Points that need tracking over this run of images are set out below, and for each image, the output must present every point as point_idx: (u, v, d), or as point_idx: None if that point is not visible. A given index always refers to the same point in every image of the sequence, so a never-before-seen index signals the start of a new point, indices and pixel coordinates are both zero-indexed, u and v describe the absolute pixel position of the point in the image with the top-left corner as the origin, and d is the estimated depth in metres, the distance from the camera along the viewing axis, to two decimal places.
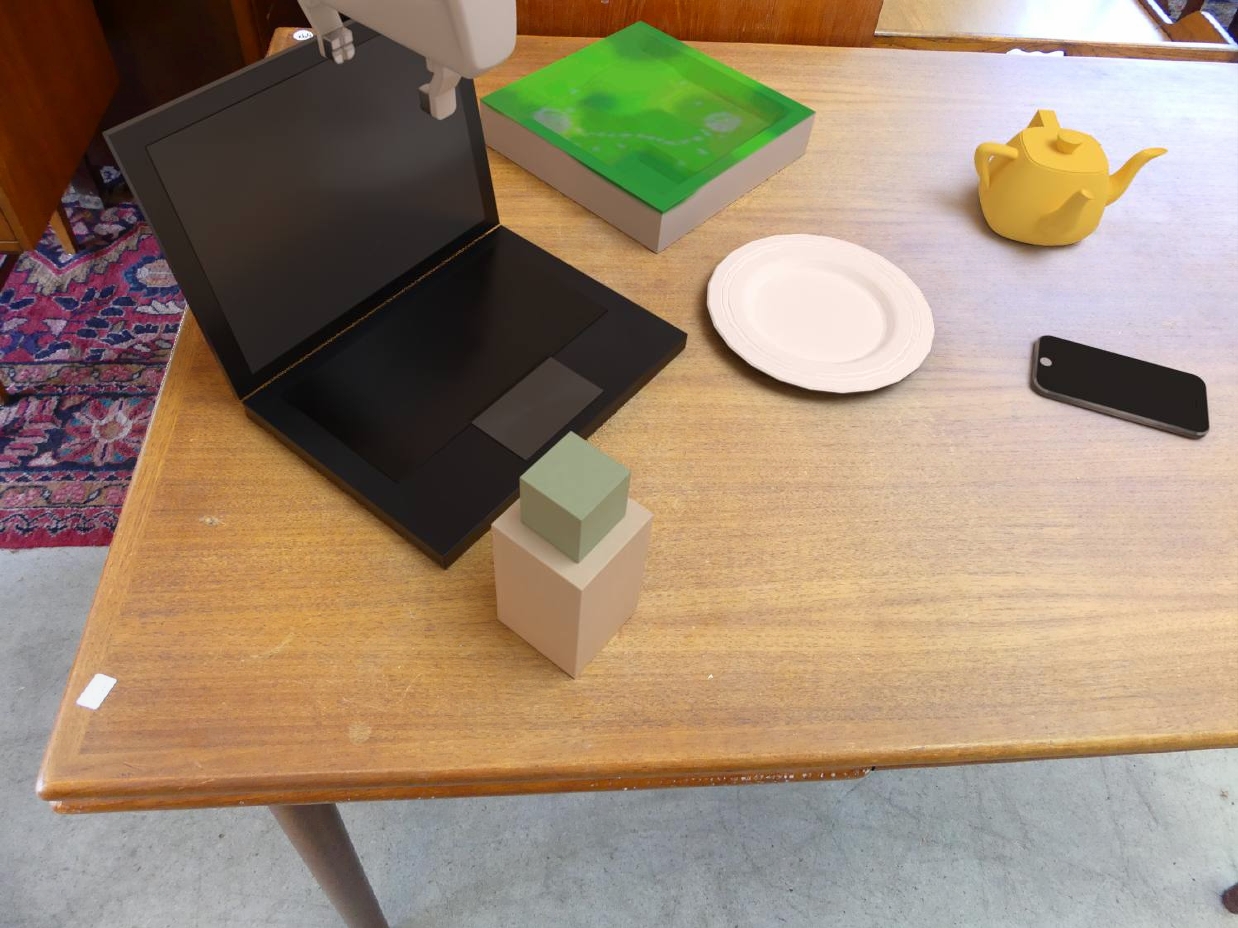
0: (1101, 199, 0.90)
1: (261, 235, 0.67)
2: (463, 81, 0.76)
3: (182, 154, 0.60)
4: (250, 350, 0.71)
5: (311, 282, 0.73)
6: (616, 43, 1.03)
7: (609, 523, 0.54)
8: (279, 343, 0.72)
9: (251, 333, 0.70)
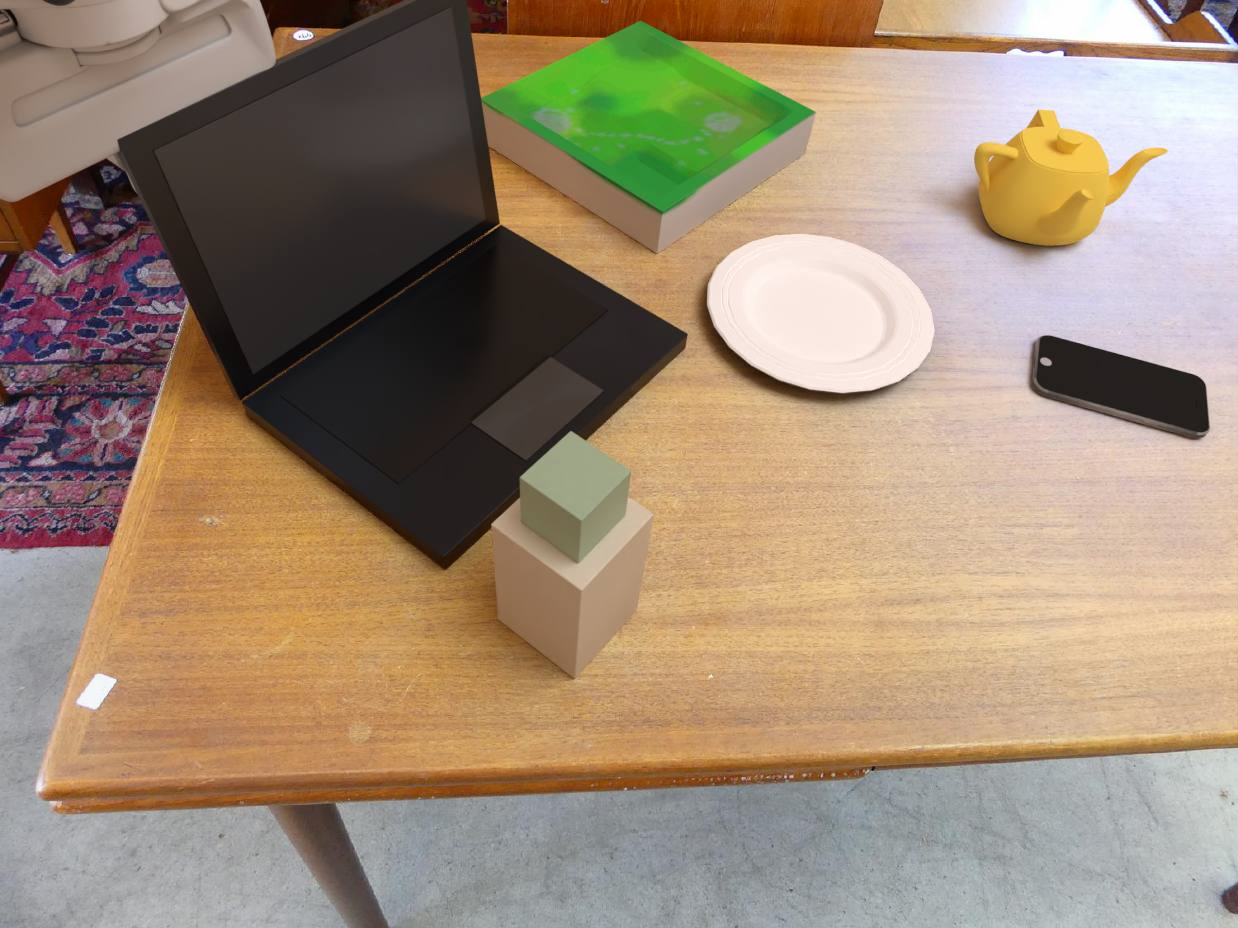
0: (1101, 199, 0.90)
1: (265, 237, 0.67)
2: (468, 83, 0.76)
3: (189, 158, 0.60)
4: (251, 351, 0.70)
5: (313, 283, 0.72)
6: (616, 43, 1.03)
7: (609, 523, 0.54)
8: (280, 344, 0.72)
9: (252, 334, 0.70)
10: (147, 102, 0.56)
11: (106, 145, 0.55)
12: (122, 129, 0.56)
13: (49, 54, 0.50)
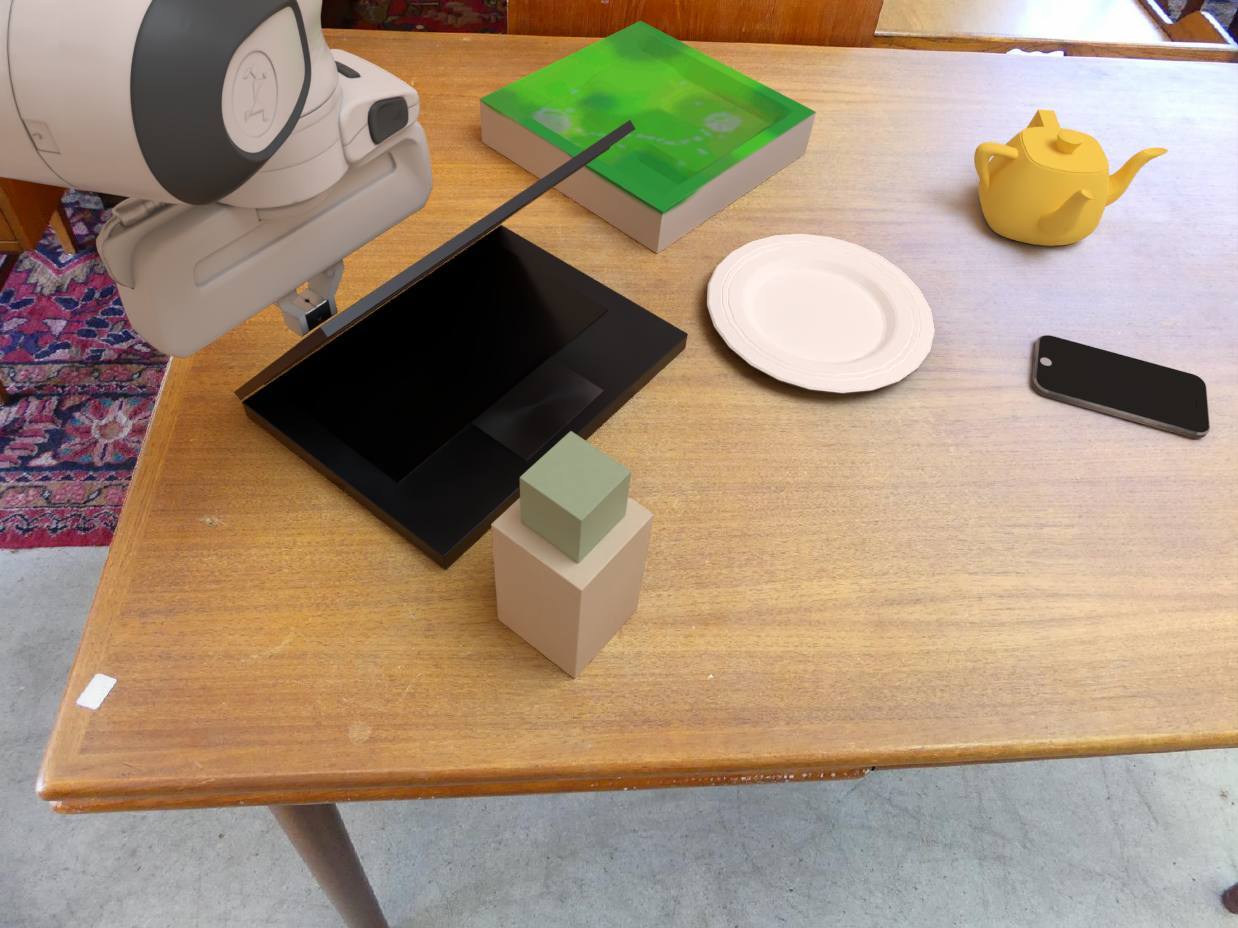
0: (1101, 199, 0.90)
1: None
2: None
3: None
4: (277, 376, 0.70)
5: None
6: (616, 43, 1.03)
7: (609, 523, 0.54)
8: None
9: None
10: (315, 245, 0.54)
11: (274, 292, 0.53)
12: (290, 275, 0.53)
13: (233, 213, 0.48)
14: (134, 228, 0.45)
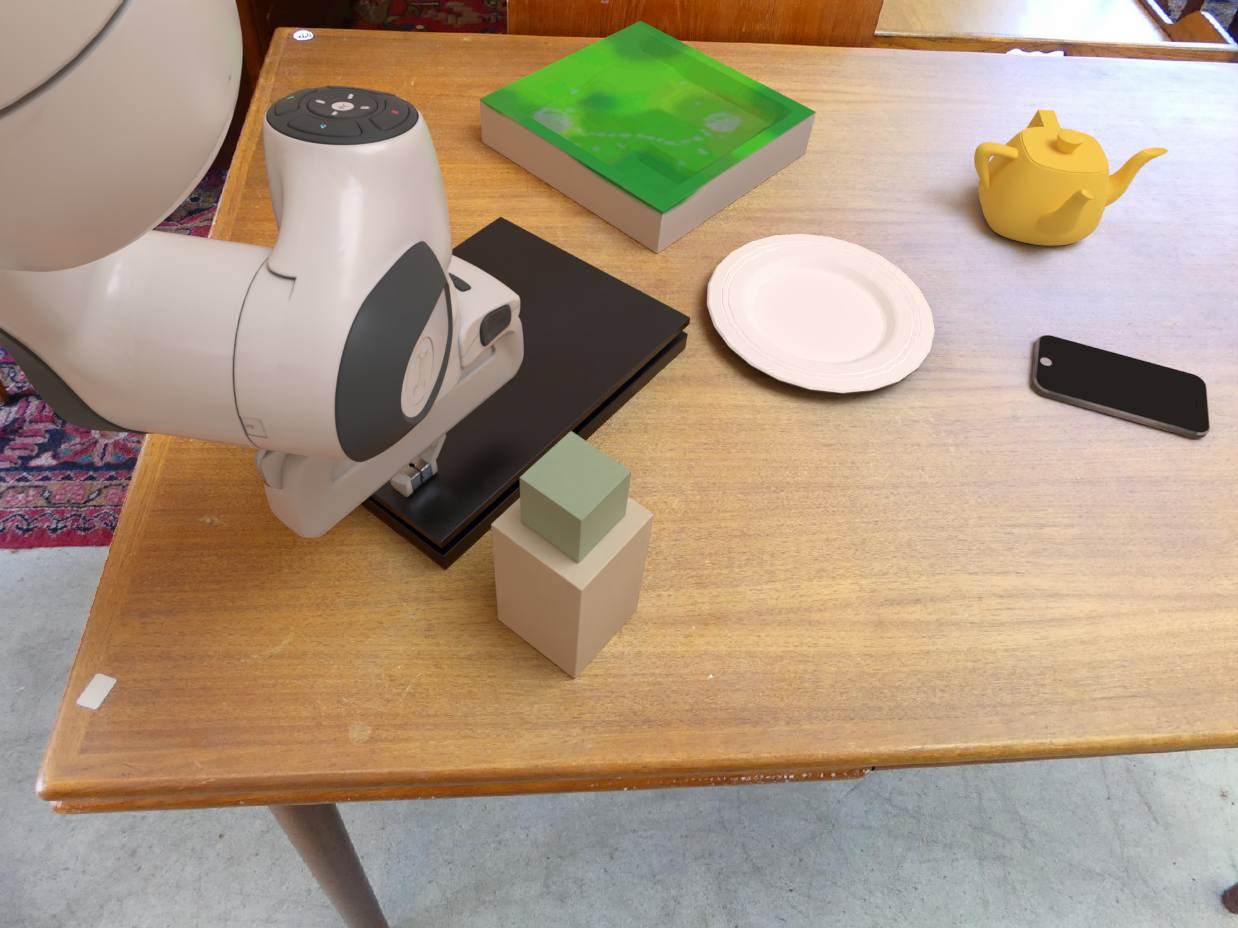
0: (1101, 199, 0.90)
1: None
2: None
3: None
4: None
5: None
6: (616, 43, 1.03)
7: (609, 523, 0.54)
8: None
9: None
10: (426, 428, 0.60)
11: (391, 471, 0.60)
12: (405, 455, 0.60)
13: None
14: None
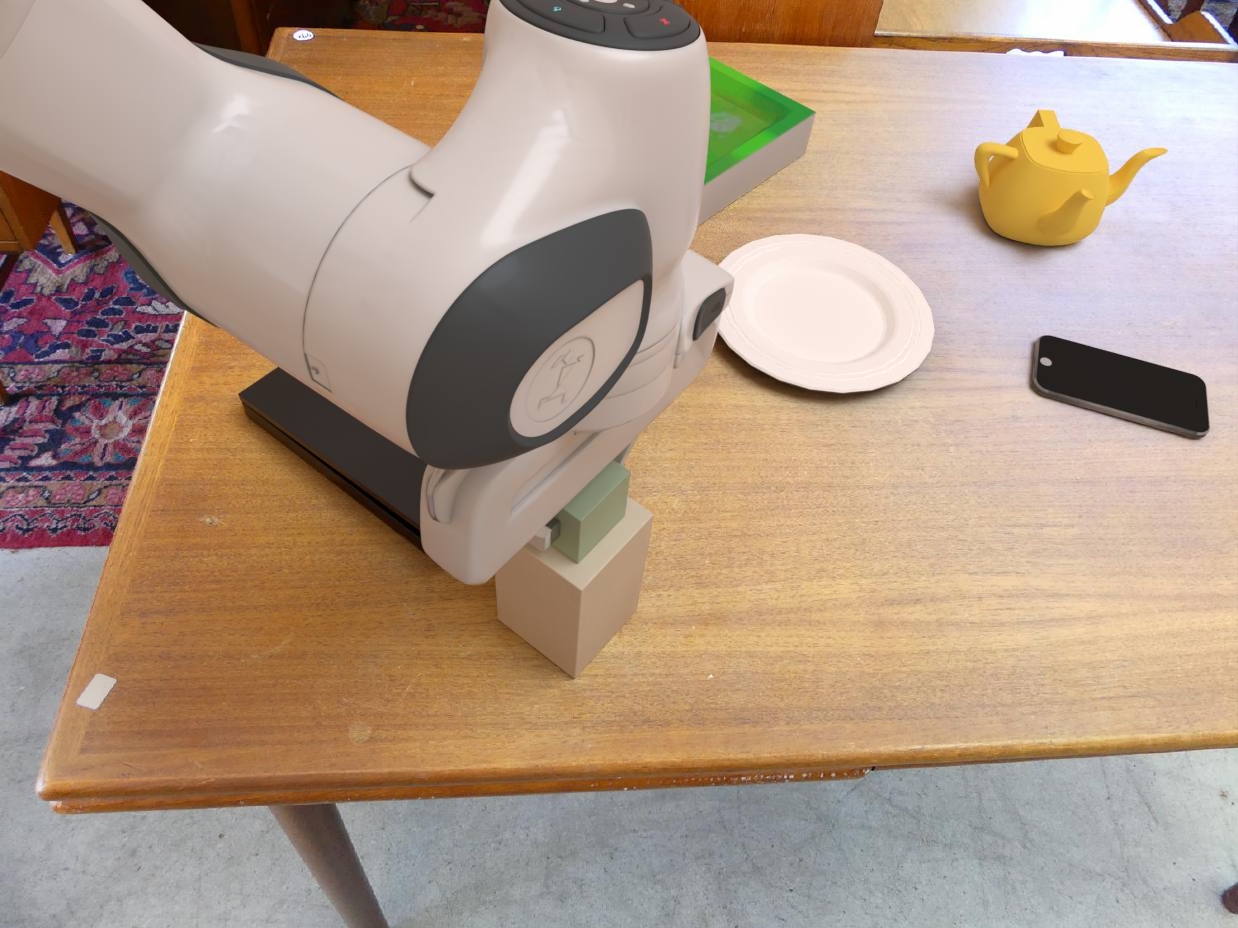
0: (1101, 199, 0.90)
1: None
2: None
3: None
4: None
5: None
6: None
7: (609, 524, 0.54)
8: None
9: None
10: (609, 443, 0.48)
11: (566, 498, 0.47)
12: (583, 478, 0.48)
13: None
14: None
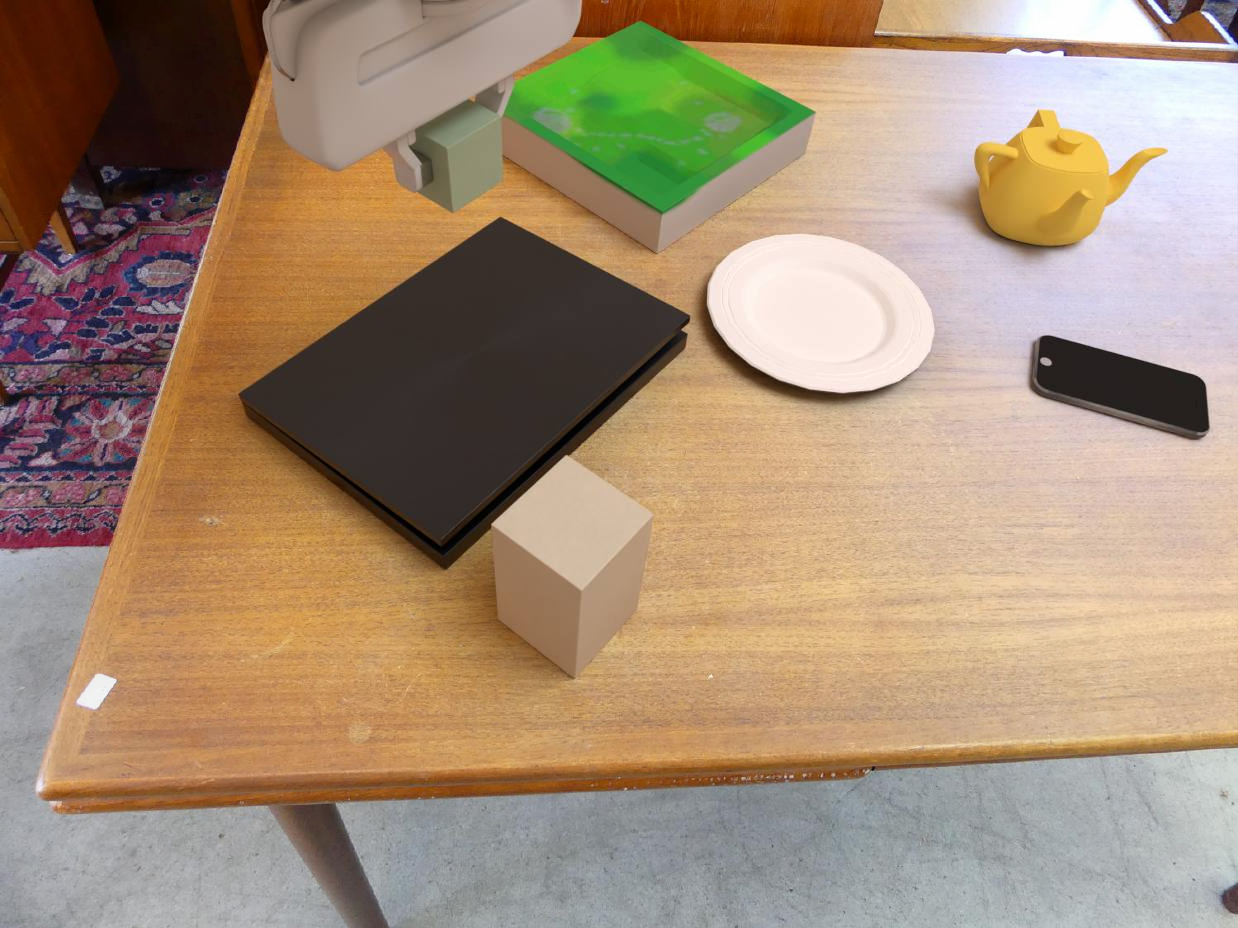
0: (1101, 199, 0.90)
1: None
2: None
3: None
4: None
5: None
6: (616, 43, 1.03)
7: (484, 179, 0.56)
8: None
9: None
10: (469, 62, 0.50)
11: (427, 110, 0.49)
12: (443, 92, 0.50)
13: (400, 2, 0.44)
14: (302, 4, 0.41)
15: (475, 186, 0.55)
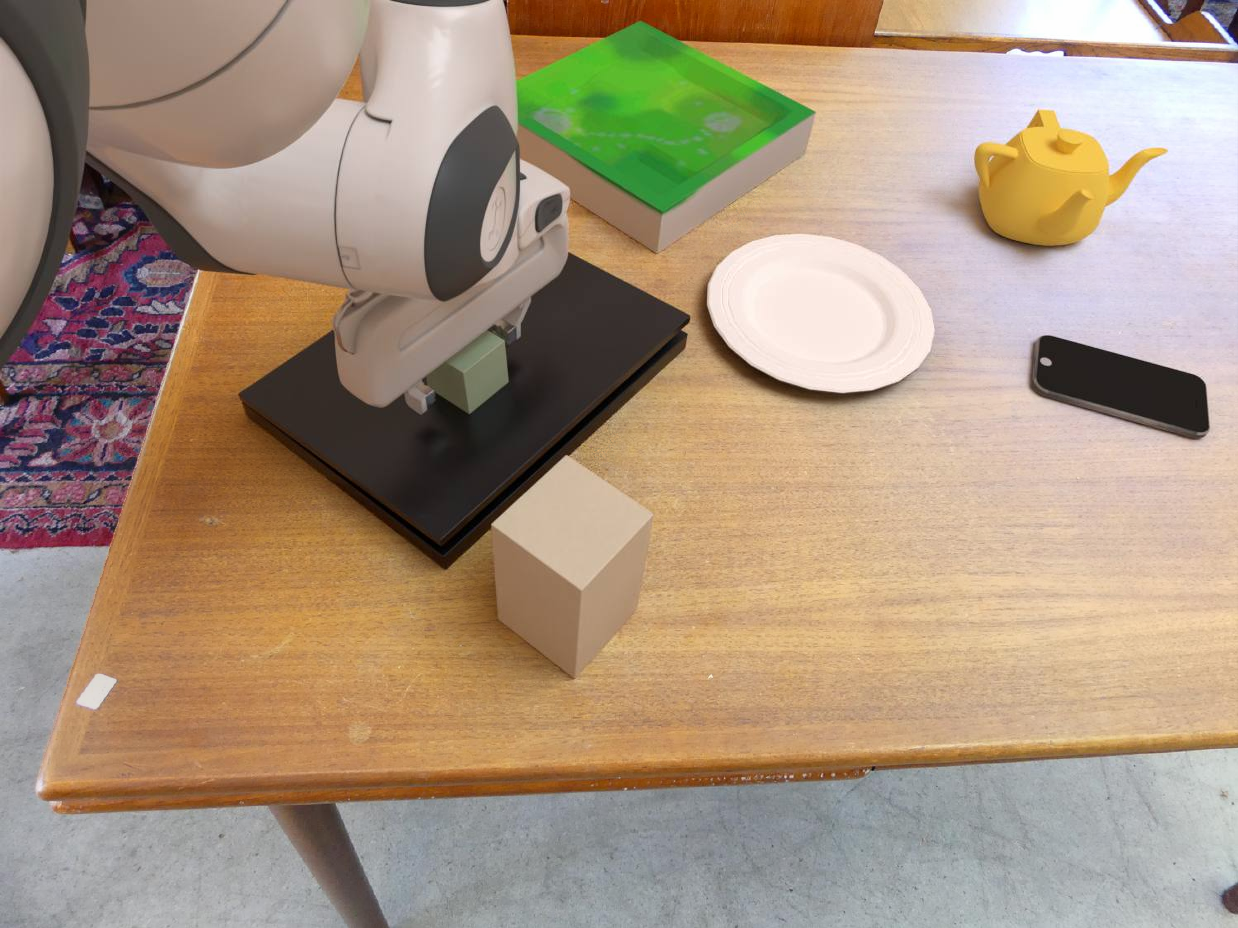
0: (1101, 199, 0.90)
1: None
2: None
3: None
4: None
5: None
6: (616, 43, 1.03)
7: (493, 385, 0.71)
8: None
9: None
10: (481, 313, 0.65)
11: (449, 351, 0.64)
12: (461, 337, 0.65)
13: None
14: (361, 308, 0.57)
15: (486, 391, 0.71)
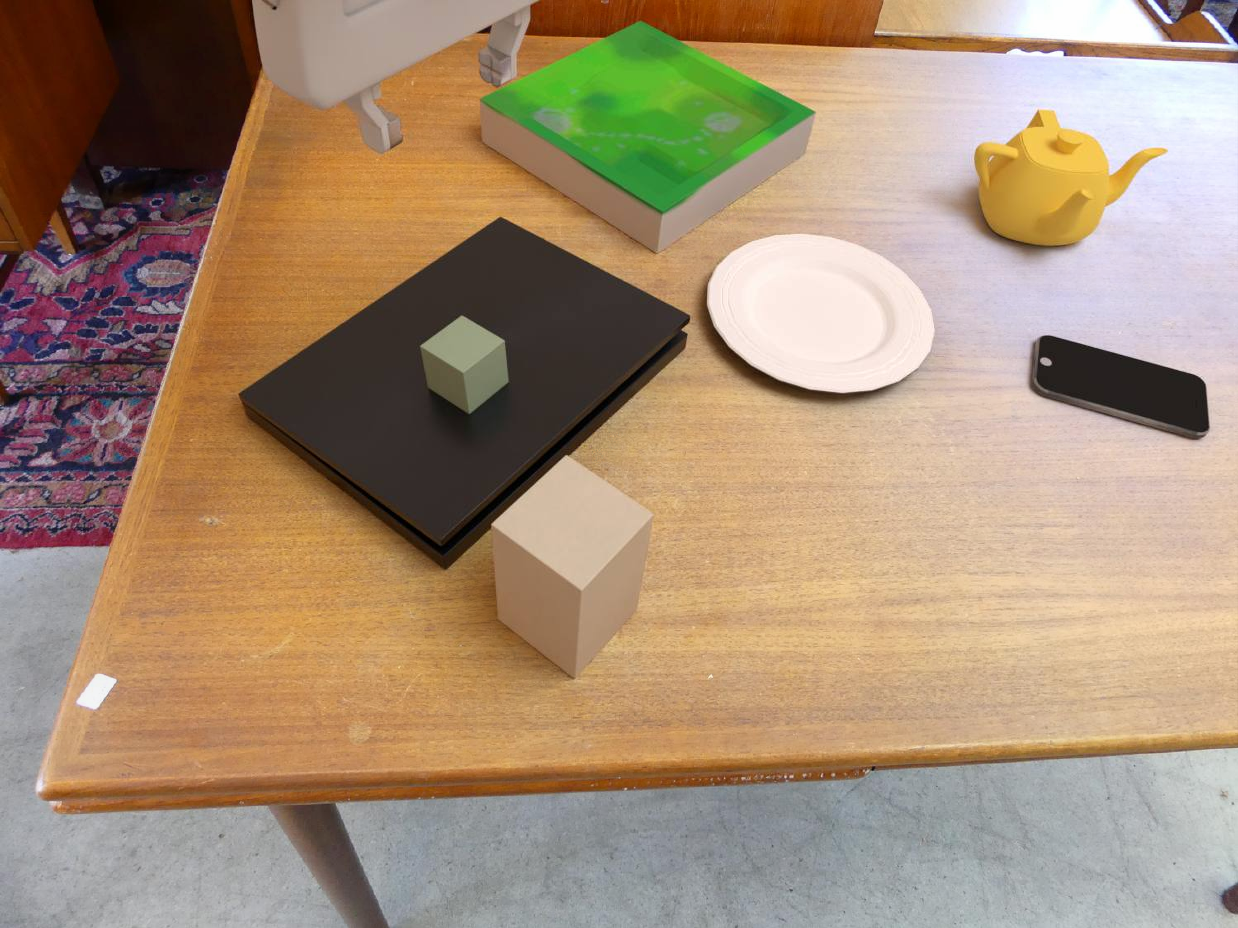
0: (1101, 199, 0.90)
1: None
2: None
3: None
4: None
5: None
6: (616, 43, 1.03)
7: (493, 385, 0.71)
8: None
9: None
10: (462, 0, 0.48)
11: (417, 49, 0.47)
12: (434, 30, 0.47)
13: None
14: None
15: (486, 391, 0.71)
